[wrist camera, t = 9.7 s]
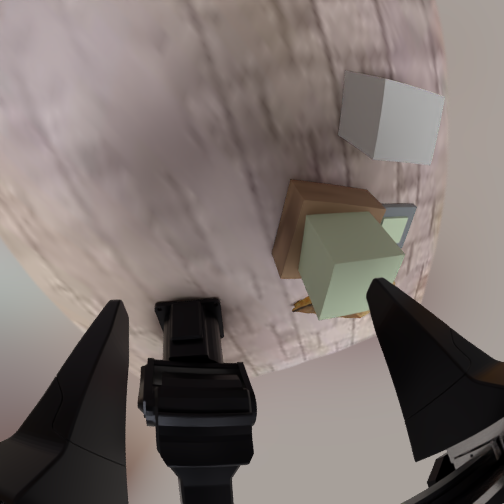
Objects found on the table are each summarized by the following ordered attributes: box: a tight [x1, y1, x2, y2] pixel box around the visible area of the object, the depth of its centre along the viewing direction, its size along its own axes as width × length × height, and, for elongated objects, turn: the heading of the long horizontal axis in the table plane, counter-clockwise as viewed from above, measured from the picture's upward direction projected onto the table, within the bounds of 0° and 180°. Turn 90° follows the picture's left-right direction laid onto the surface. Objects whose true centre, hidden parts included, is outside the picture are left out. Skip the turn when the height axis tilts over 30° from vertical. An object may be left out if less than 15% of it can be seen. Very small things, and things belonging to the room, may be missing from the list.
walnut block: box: [272, 179, 386, 279], centre depth 22 cm, size 7×7×4 cm
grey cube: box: [338, 70, 445, 165], centre depth 15 cm, size 5×5×5 cm
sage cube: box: [298, 212, 405, 320], centre depth 18 cm, size 5×5×5 cm
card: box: [380, 204, 417, 248], centre depth 24 cm, size 5×5×1 cm
